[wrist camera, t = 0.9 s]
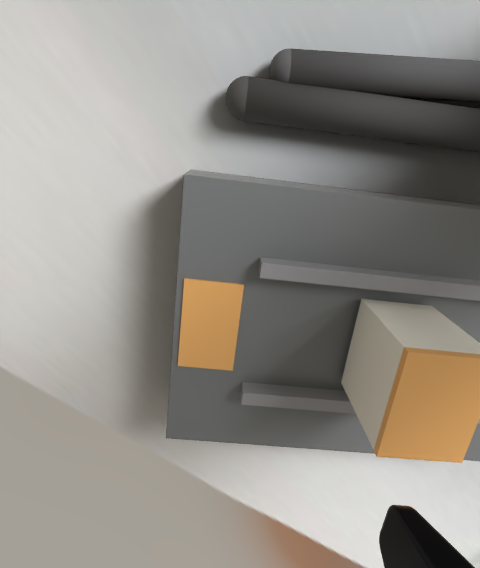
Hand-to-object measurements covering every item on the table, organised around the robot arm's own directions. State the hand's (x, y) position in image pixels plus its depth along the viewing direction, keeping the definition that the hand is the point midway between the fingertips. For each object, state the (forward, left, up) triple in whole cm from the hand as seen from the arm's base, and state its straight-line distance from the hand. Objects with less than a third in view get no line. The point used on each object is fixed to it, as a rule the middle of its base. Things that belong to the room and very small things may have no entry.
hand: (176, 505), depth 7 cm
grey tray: (-8, +1, -12) cm, 14 cm away
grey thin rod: (-9, -10, -12) cm, 18 cm away
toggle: (-8, +1, -9) cm, 12 cm away
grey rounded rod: (-8, -8, -12) cm, 17 cm away
